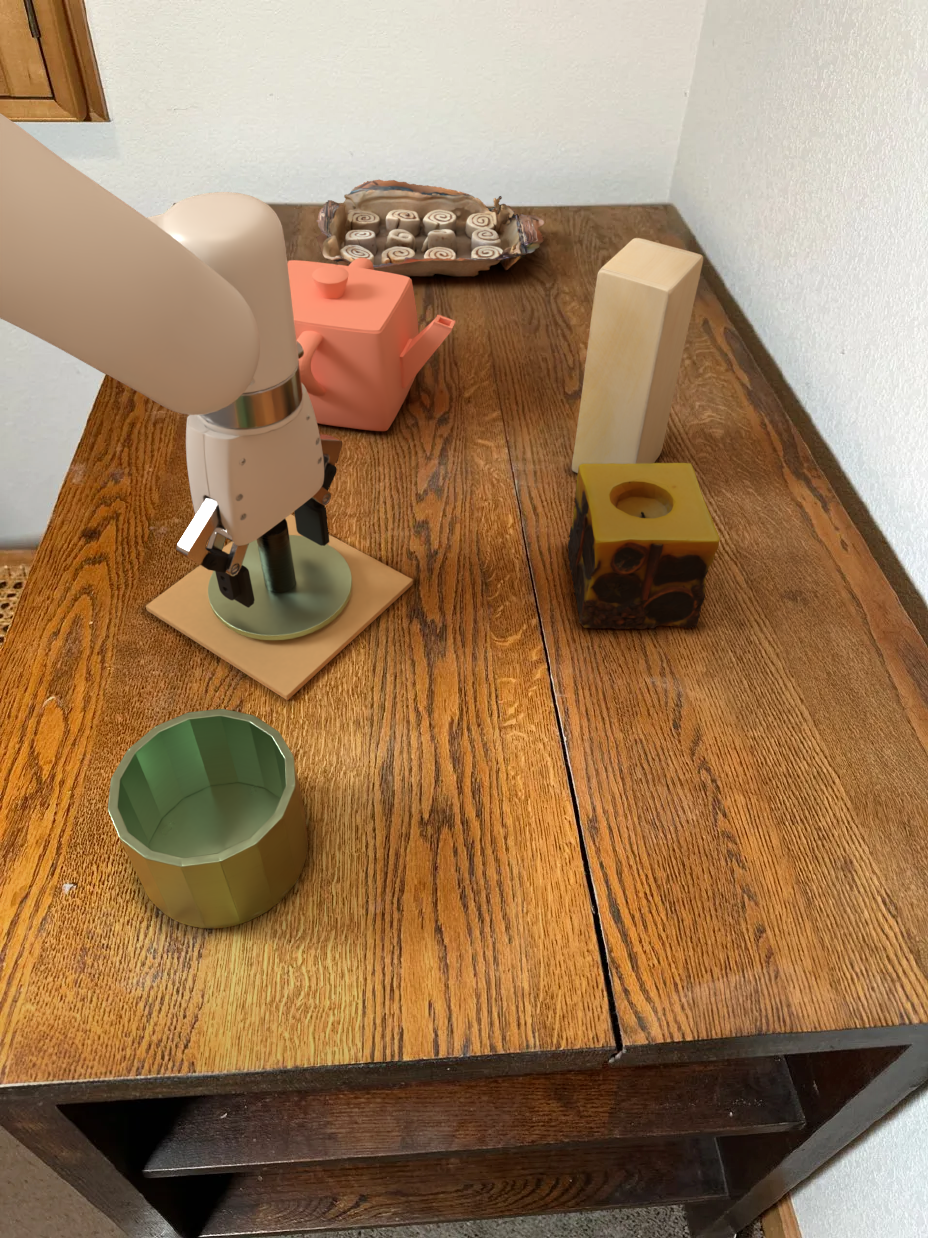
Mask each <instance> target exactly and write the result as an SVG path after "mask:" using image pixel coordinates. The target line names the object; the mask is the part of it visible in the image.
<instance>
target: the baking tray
mask: <svg viewBox="0 0 928 1238" xmlns="http://www.w3.org/2000/svg"><path fill="white" fill-rule="evenodd" d="M343 198H344V201H343V202H336V201H335V200H331V199H327V201H326V202H325V203H323V204H322V206H323V207H322V208H320V209H319V212H318V216H317V220H316V222H317V223H318V225H317V226H318V228H319V229H320V232H321V233H320V234H319V235H318V236H316V237H315V238H316V240H317V244H318V246H319V249H320V251H321V254H322V256H323V257H324V258H325V259H328V260H330V261H334V262H335V263H336V265H344V266H349V265H350V264H351V262H353V261H354V260H355V259H357V258H367V259H369V260H370V261H371V262H372V263H373V267H374V270H377V271H382V272H388V273H394V274H399V275H403V276H407V277H434V275H435V274H436V275H443V276H449V277H476V276H478V275H479V274H480V273H479V272H480V271H489V270H490V267H491V266H495V265H497V264H500V265H501V266H502V268H503V269H504V271H507V270H509V269H510V268H511V267H512V266H513V265H514V264H516V263H517V262H518V261H519V260H521V259H522V258H526V256H527V254H532V253H533V252H535V251H536V249H538V248H540V244H542V243H543V242H544V236H543V234H542V232H541V231H540V230H539V228H540V227H542V226H544V224H545V221H544V220H543V219H542V218H540V216H537V215H536V214H524V213H522V214H521V213H520V214H518V213H516V211H514V209H513V208H512V207H511V206H510V205H507V204H506V203H501V204H500V201H501V200H502V199H503V196H502V195H499V196H498V198H496V197H494V198H492V199H493V200H492V201H493V207H491V208H489V207H488V206H487V205H486V204H485V203H484V202H483V201H482V200H481V199H480V198H479V197H475V196H473V195H471V194H469V193H466V192H464V191H458V190H455V189H452V188H451V189H450V188H446V187H441V186H436V185H435V186H434V185H424V184H415V183H408V182H407V181H398V180H395V179H389V180H383V179H373V180H366V181H364V182H363V183H361V184H359V185H357V186H354V188H352V189H351V191H350V192H349V193H346V194H344V196H343ZM515 213H516V214H515Z"/></svg>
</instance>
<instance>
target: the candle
mask: <svg viewBox="0 0 928 1238" xmlns="http://www.w3.org/2000/svg"><path fill="white" fill-rule="evenodd" d="M701 489H702V488H701V486H700V484H699V480H698V478H697V475H696V471H695V469H694V467H693V464H692V463H691V462H654V463H642V464H616V463H609V464H581V465H579V468H578V473H577V476H576V485H575V497H574V507H573V516H572V522H571V526H570V529H569V534H568V538H569V539H568V541H567V550H568V551H567V552H568V560H569V564H568V566H569V570H570V571H571V572H570V576H571V580H572V585H573V586H572V587H573V590H574V592H573V594H574V597H575V600H576V606H577V611H578V616H579V619H578V623H579V624H580V625H581V626H582V627H583V628H584V629H615V630H616V629H617V630H619V629H622V630H623V629H637V630H645V629H655V628H656V627H658V626H666V627H667V626H668V627H678V628H687V629H690V628H697V627H698V624H699V620H700V616H701V612H702V606H703V604H704V602H705V599H706V589H707V587H706V586H707V585H706V582H707V575H708V572H709V569H710V567H711V566H712V564H713V563H714V560H715V556H716V553H717V551H718V549H719V548H720V540H721V538H720V535H719V532H718V529H717V527H716V526H715V522H714V520H713V518H712V515H711V513H710V511H709V509H708V506H707V503H706V500H705V497H704V495H703V493H702V490H701Z"/></svg>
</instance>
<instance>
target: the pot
mask: <svg viewBox="0 0 928 1238" xmlns="http://www.w3.org/2000/svg"><path fill="white" fill-rule="evenodd" d="M109 784H110V785H109V793H108V803H107V812H108V815H109V817H110V819H111V822H112V824H113V826H114V829H115V831H116V834H117V836H118V839H119V841H120V842H121V845H122V847H123V849H124V850H125V853H126V855H127V857H128V860H129V861H130V863H131V866H132V867H133V869H134V872H135V873H136V876H137V878H138V879H139V881H140V883H141V886H142V887H143V890H144V892H145V894H146V896H147V898H148V900H149V901H150V902H152V903H153V905H154V906H155V907H156V908H157V910H159V911H160V912H161V913H163V914H164V915H165V916H167V917H168V918H170V919H171V920H173V921H176V922H178V923H180V924H183V925H185V926H189V927H194V928H199V929H210V930H211V929H227V928H229V927H235V926H238V925H239V926H240V925H242V924H244V923H248V922H250V921H253V920H254V919H257V918H259V917H260V916H262V915H263V914H265V913H267V912H269V911H270V910H271V909H272V908H274V907H275V906H276V905H278V904H279V903H280V902H281V901H282V900H283V899H284V898H285V897H286V896H287V895H288V893H289V892H290V891H291V890H292V889H293V887H294V886H295V884H296V883H297V881H298V879H299V878H300V876H301V875H302V871H303V869H304V867H305V863H306V859H307V856H308V850H309V837H308V828H307V818H306V813H305V807H304V803H303V797H302V792H301V787H300V781H299V776H298V770H297V765H296V759H295V757H294V754H293V752H292V751H291V748H290V747H289V746H288V744H287V741H285V739H284V737H283V736H282V734H281V732H280V731H278V730H277V729H276V728H274V727H273V726H271V725H270V724H269V723H267V722H266V721H264V720H262V719H260V718H259V717H258V716H257V715H254V714H249V713H245V712H241V711H236V710H230V709H228V708H227V709H226V708H213V709H205V710H197V711H188V712H185V713H182V714H180V715H179V716H176V717H174V718H171V719H169V720H166V721H165V722H162V723H159V724H157V725H155V726H154V727H152V728H151V729H149V731H147V732H146V733H145V734H144V735H143V736H142V737H140V739H139V740H137V741H136V742H135V743H134V744H132V745H131V746H130V747H129V748H128V749H127V750H126V752H125V753H124V755H123V757H122V758H121V760H120V762H119V764H118V765H117V767H116V768H115V771H114V772H113V774H112V776H111V779H110V783H109Z"/></svg>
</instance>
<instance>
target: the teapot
mask: <svg viewBox="0 0 928 1238" xmlns="http://www.w3.org/2000/svg"><path fill="white" fill-rule="evenodd" d="M287 264H288V273H289V281H290V290H291V298H292V307H293V315H294V324H295V332H296V341H297V342H299V343H300V345H301V346H302V348H303V351H304V355H303V356H302V357H301V358H300V359H299V367H300V375H301V383H303V385H304V386H305V388H306V390H307V392H308V395H309V397H310V400H311V403H312V406H313V410H314V413H315V417H316V421H317V424H320V425H325V426H333V427H340V428H347V429H355V430H363V431H371V432H372V431H373V432H386V431H388V430H389V429H390V427H391V426H392V424H393V423H394V421H395V419H396V417H397V415H398V414H399V412H400V409H401V408H402V405H403V404H404V402H405V400H406V398H407V396H408V394H409V392H410V390H411V387H412V385H413V383H414V381H415V378H416V376H417V374H418V373H419V372H420V371H421V369H422V368H423V367H424V366H425V365H426V363H427V362H428V361H429V359H430V358H431V357H432V356H433V355H434V353H435V352H436V351H437V349H439V347H440V346H441V344H442V343H443V342H444V341H445V340H446V338H448V336H449V335H450V334H451V333H452V331H453V329H454V327H455V325H456V320H454V319H451V318H449V317H447V316H444V315H441V314H437V315H436V317H435V318H434V319H433V320H431V322H430V323H428V324H427V326H426V327H424V328H423V329H422V330H421V331H419V321H418V320H419V319H418V312H417V305H416V298H415V292H414V285H413V280H412V278H410V276H403V275H399V274H394V273H388V272H382V271H377V270H374V267H373V263H372V262H371V261H370V260H369V259H367V258H357V259H355V260H354V261H353V262H351V264H348V266H344V265H338V264H337V263H336V264H335V263H327V262H320V261H311V260H309V261H308V260H299V259H295V260H294V259H291V260H290V259H289V260H287Z"/></svg>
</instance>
